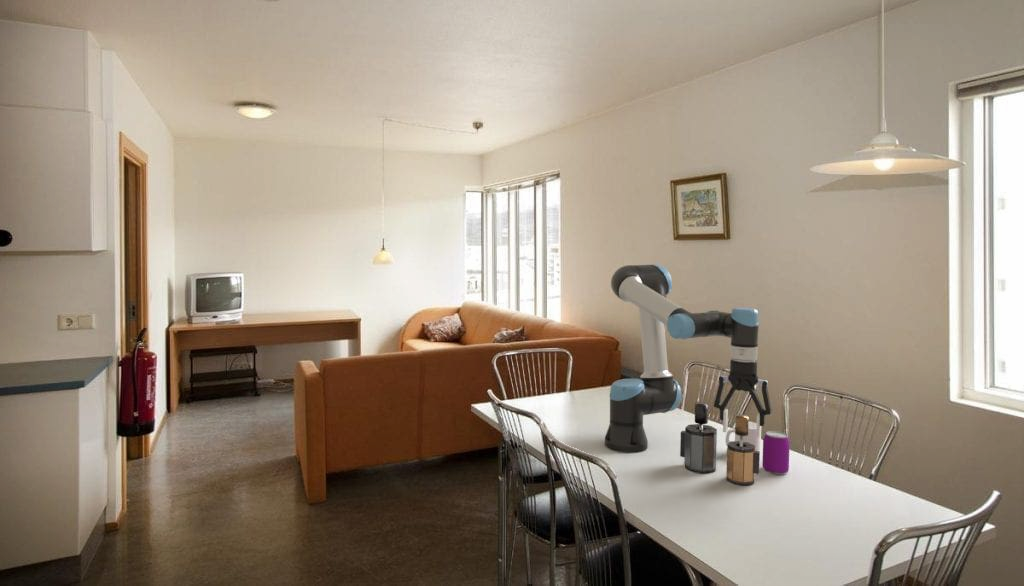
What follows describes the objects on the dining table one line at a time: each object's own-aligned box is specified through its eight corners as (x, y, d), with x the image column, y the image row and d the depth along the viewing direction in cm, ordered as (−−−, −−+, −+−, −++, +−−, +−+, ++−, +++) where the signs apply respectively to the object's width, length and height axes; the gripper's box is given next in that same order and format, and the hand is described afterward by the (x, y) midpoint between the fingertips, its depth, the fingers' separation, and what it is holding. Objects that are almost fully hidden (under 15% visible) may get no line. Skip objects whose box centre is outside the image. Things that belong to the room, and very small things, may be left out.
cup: (765, 457, 201) (766, 428, 200) (730, 458, 200) (731, 429, 199) (752, 449, 209) (753, 420, 208) (720, 450, 208) (720, 421, 207)
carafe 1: (676, 469, 190) (677, 429, 189) (684, 459, 199) (685, 421, 198) (711, 475, 185) (712, 434, 184) (718, 466, 193) (719, 426, 192)
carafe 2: (723, 482, 180) (724, 446, 179) (729, 473, 187) (730, 439, 186) (755, 488, 175) (757, 452, 174) (760, 479, 182) (761, 444, 181)
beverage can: (768, 464, 194) (769, 428, 193) (792, 471, 189) (793, 434, 188) (758, 470, 189) (759, 433, 188) (782, 477, 183) (784, 439, 182)
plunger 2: (729, 474, 180) (731, 416, 179) (733, 469, 184) (734, 412, 183) (747, 478, 177) (749, 419, 176) (750, 472, 182) (752, 415, 180)
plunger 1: (687, 461, 190) (688, 404, 189) (692, 455, 196) (693, 400, 194) (708, 465, 187) (709, 407, 185) (713, 459, 192) (714, 402, 191)
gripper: (703, 358, 181) (702, 431, 182) (781, 365, 169) (778, 443, 171) (709, 354, 187) (708, 424, 189) (784, 361, 176) (782, 436, 178)
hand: (741, 433), depth 180 cm, fingers open, 9 cm apart
